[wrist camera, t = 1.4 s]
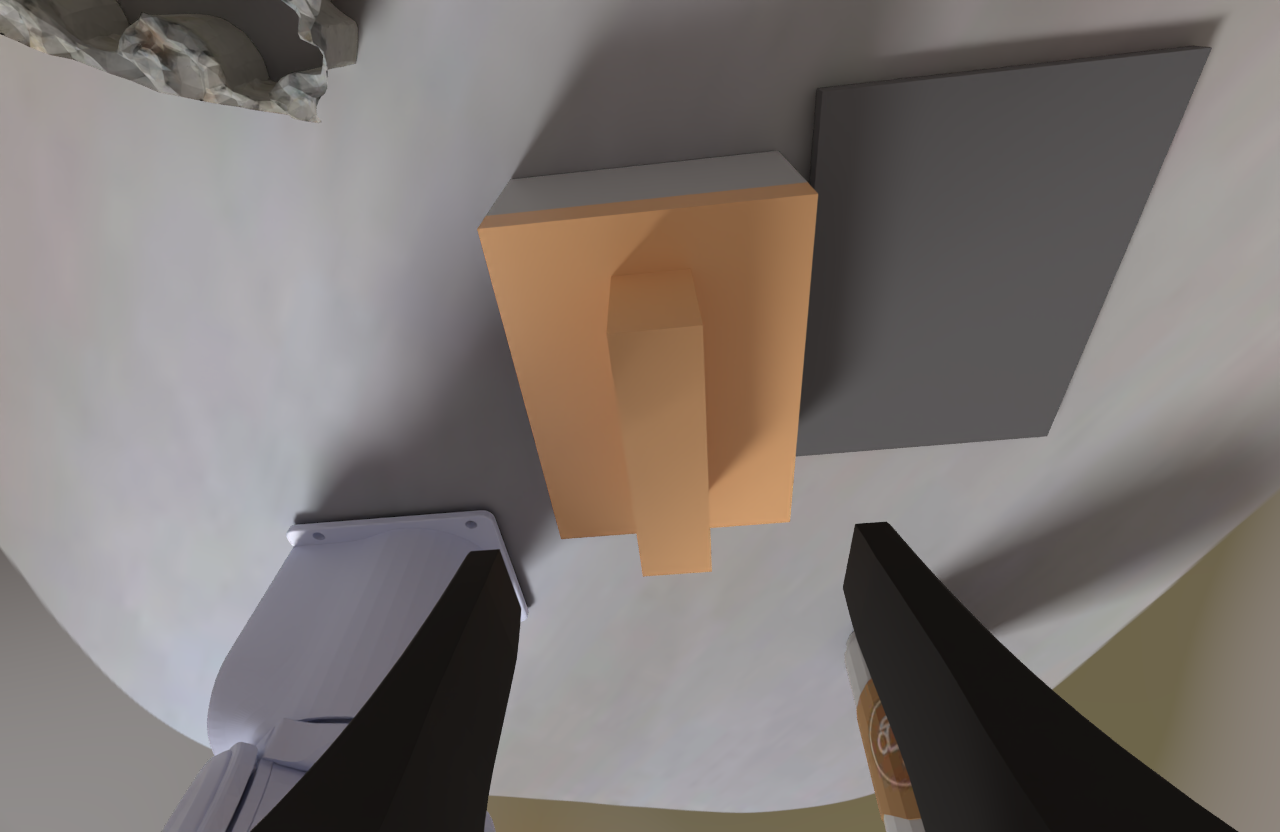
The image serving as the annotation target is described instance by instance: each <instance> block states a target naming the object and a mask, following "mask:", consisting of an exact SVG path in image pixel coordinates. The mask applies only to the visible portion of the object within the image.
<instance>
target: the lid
mask: <svg viewBox="0 0 1280 832" xmlns="http://www.w3.org/2000/svg"><path fill="white" fill-rule="evenodd" d="M817 202H818V193H817V192H816V191H815V190H814V189H813V188H812V187H811V185H810V184H809V183H808V182H805V183H795V184H786V185H776V186H767V187H757V188H747V189H738V190H728V191H719V192H709V193H700V194H690V195H681V196H671V197H661V198H652V199H642V200H633V201H623V202H614V203H604V204H595V205H585V206H575V207H566V208H556V209H547V210H537V211H528V212H518V213H509V214H499V215H489V216H486V217H485V218H484V220H483V221H482V223H481V224H480V226H479V227H478V229H477V230H478V234H479V237H480V241H481V245H482V249H483V252H484V256H485V260H486V263H487V267H488V271H489V274H490V278H491V282H492V285H493V289H494V293H495V297H496V300H497V304H498V308H499V311H500V315H501V319H502V322H503V326H504V330H505V333H506V337H507V341H508V345H509V348H510V352H511V356H512V359H513V363H514V367H515V370H516V374H517V378H518V381H519V385H520V389H521V393H522V396H523V400H524V404H525V407H526V411H527V415H528V418H529V422H530V426H531V429H532V433H533V437H534V441H535V444H536V448H537V452H538V455H539V459H540V463H541V466H542V470H543V474H544V477H545V481H546V485H547V489H548V492H549V496H550V500H551V503H552V507H553V511H554V514H555V518H556V522H557V525H558V529H559V533H560V537H561V539H569V538H582V537H595V536H609V535H622V534H635V533H637V540H638V546H639V553H640V560H641V566H642V573H643V576H656V575H670V574H684V573H698V572H712V567H711V539H710V528H716V527H729V526H742V525H756V524H769V523H782V522H790V514H791V503H792V491H793V480H794V468H795V457H796V445H797V433H798V422H799V410H800V399H801V387H802V376H803V364H804V352H805V341H806V329H807V318H808V306H809V295H810V283H811V271H812V260H813V248H814V237H815V225H816V214H817Z"/></svg>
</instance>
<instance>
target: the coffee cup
mask: <svg viewBox="0 0 1280 832" xmlns="http://www.w3.org/2000/svg"><path fill="white" fill-rule="evenodd" d="M846 644H847V650H846V652H845V654H844V655H845V665H846V669H847V673H848V677H849V681H850V685H851V689H852V693H853V697H854V701H855V705H856V709H857V720H858V724H859V729H860V733H861V737H862V741H863V745H864V749H865V753H866V758H867V762H868V766H869V770H870V774H871V778H872V782H873V786H874V791H875V795H876V799H877V803H878V807H879V811H880V815H881V819H882V821H883V822H884V823H885V827H886V831H887V832H925V830H924V826H923V823H922V820H921V816H920V813H919V809H918V806H917V802H916V799H915V796H914V792H913V789H912V785H911V782H910V779H909V775H908V773H907V770H906V767H905V764H904V761H903V758H902V755H901V752H900V750H899V747H898V745H897V742H896V740H895V737H894V734H893V732H892V729H891V727H890V724H889V722H888V719H887V716H886V714H885V711H884V709H883V706H882V704H881V701H880V699H879V696H878V693H877V691H876V688H875V686H874V683H873V681H872V678H871V676H870V673H869V670H868V668H867V665H866V663H865V660H864V657H863V655H862V652H861V650H860V647H859V644H858V642H857V639H856V636H855V632H853V633H852V634H851V635H850V636H849V639H848V641H847V643H846Z"/></svg>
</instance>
